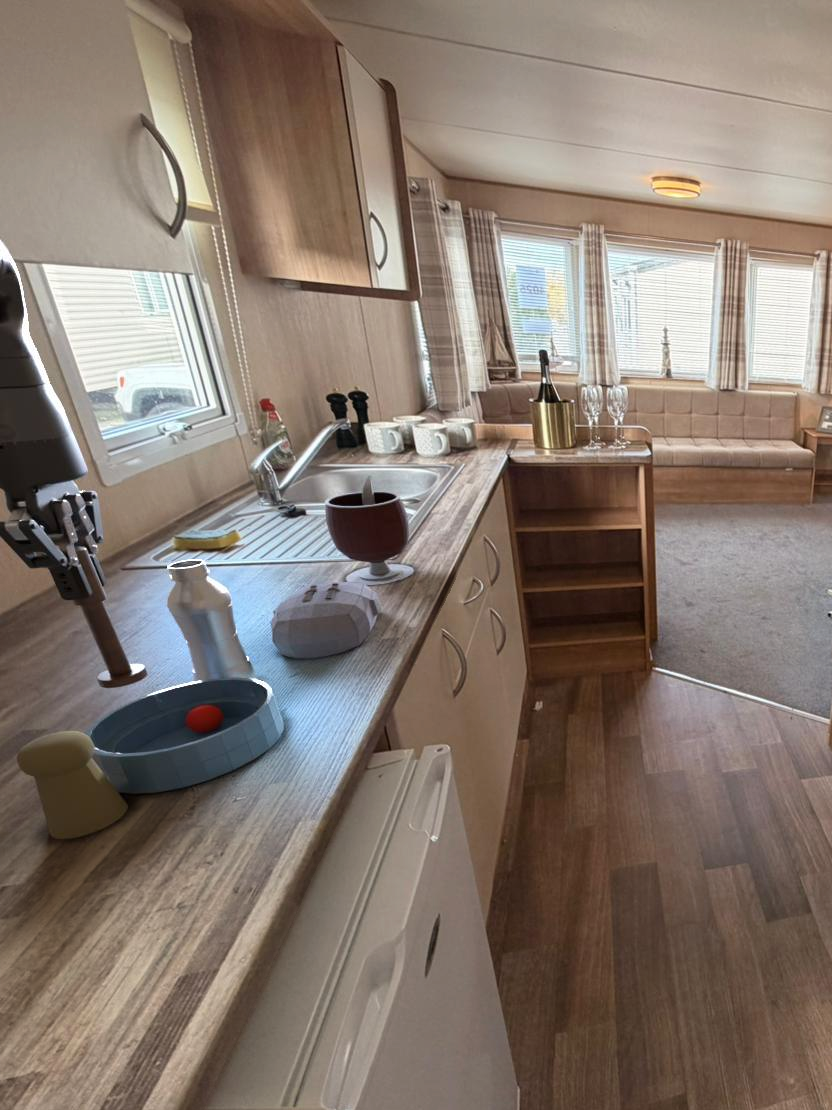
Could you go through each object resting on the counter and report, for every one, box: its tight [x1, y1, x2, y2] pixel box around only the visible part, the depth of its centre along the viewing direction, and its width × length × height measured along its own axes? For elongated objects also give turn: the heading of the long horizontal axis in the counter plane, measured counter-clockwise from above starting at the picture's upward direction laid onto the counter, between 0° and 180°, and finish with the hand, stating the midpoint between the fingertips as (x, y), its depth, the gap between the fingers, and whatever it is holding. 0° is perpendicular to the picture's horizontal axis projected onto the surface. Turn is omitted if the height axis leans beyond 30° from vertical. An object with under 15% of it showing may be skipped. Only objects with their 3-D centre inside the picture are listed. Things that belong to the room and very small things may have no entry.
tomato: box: [186, 705, 223, 733], centre depth 83 cm, size 4×4×4 cm
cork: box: [16, 730, 129, 840], centre depth 67 cm, size 6×6×11 cm
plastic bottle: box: [166, 559, 257, 682], centre depth 89 cm, size 6×7×20 cm
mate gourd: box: [324, 475, 415, 586], centre depth 132 cm, size 16×14×20 cm
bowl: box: [84, 677, 285, 795], centre depth 79 cm, size 17×17×6 cm
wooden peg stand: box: [58, 546, 149, 689], centre depth 71 cm, size 4×4×16 cm
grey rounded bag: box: [269, 581, 381, 660], centre depth 109 cm, size 15×8×20 cm
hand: (85, 592), depth 70 cm, fingers closed on wooden peg stand, 2 cm apart
